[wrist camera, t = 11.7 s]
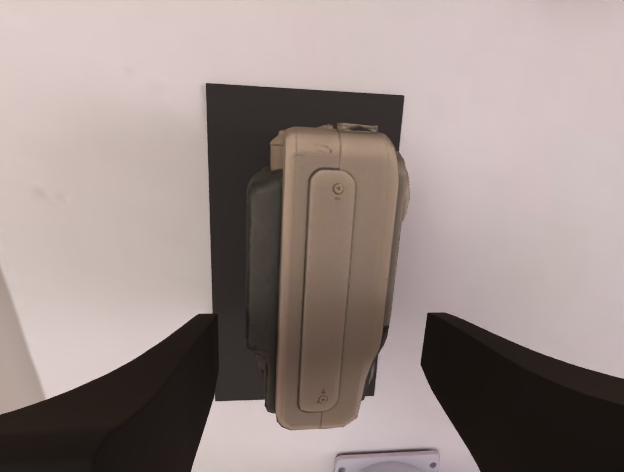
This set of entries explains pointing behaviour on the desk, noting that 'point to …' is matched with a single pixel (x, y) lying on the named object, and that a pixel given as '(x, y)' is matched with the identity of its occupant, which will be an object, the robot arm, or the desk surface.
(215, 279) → the desk pad
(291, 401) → the camera
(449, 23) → the desk surface
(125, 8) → the desk surface
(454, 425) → the robot arm
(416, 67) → the desk surface
